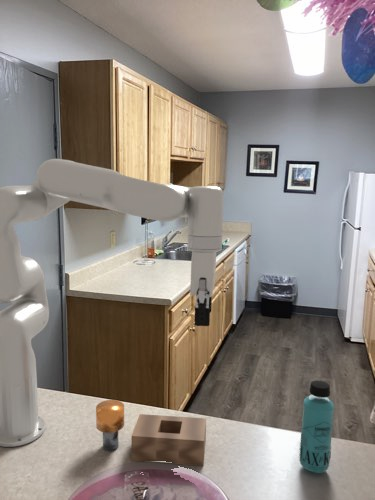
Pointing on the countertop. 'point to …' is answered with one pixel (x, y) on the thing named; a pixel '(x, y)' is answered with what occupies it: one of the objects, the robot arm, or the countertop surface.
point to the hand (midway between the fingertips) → (203, 318)
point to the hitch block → (169, 439)
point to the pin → (110, 422)
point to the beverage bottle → (317, 428)
